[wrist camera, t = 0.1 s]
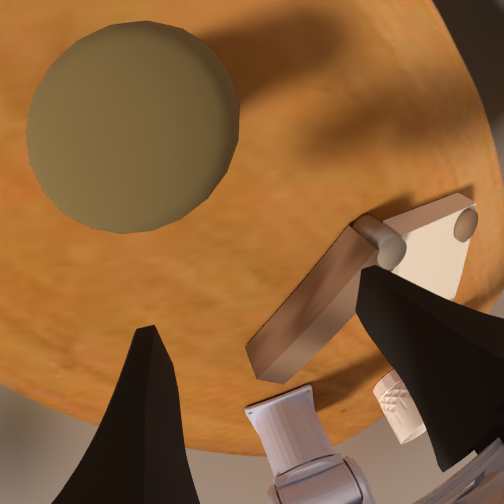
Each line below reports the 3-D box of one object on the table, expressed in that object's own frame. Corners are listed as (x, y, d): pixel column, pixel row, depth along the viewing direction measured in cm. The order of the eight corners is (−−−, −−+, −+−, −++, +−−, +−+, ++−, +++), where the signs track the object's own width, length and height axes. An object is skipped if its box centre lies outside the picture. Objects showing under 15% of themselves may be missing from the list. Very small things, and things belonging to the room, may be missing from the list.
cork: (215, 60, 13) (306, 16, 4) (196, 165, 16) (246, 278, 7) (104, 52, 11) (9, -1, 2) (90, 159, 14) (3, 269, 5)
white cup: (414, 353, 37) (452, 402, 29) (408, 377, 41) (440, 420, 33) (369, 381, 36) (404, 436, 28) (369, 401, 41) (398, 448, 33)
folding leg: (362, 207, 21) (394, 230, 18) (382, 226, 22) (413, 250, 19) (244, 346, 25) (257, 382, 21) (270, 354, 26) (285, 387, 23)
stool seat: (436, 303, 32) (451, 318, 29) (372, 338, 30) (387, 358, 28) (457, 192, 23) (480, 205, 21) (382, 220, 22) (406, 239, 20)
